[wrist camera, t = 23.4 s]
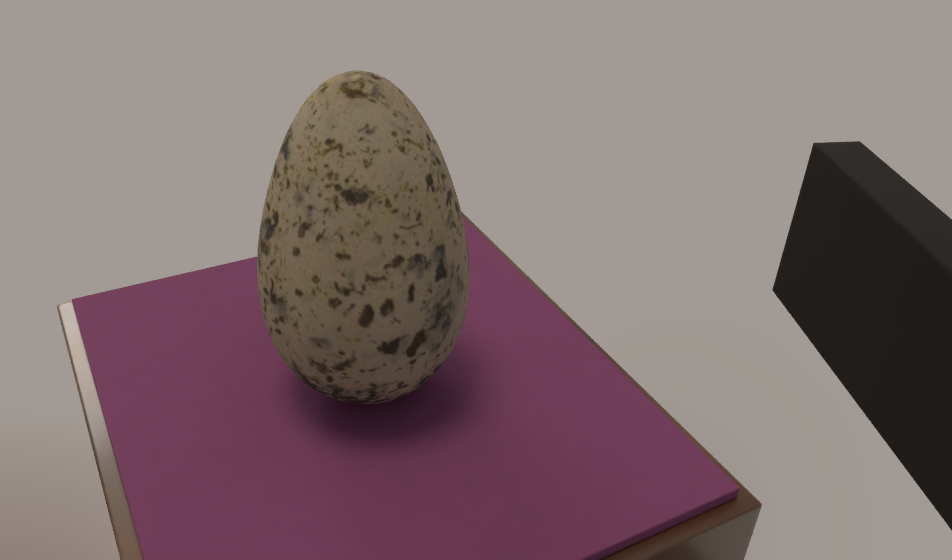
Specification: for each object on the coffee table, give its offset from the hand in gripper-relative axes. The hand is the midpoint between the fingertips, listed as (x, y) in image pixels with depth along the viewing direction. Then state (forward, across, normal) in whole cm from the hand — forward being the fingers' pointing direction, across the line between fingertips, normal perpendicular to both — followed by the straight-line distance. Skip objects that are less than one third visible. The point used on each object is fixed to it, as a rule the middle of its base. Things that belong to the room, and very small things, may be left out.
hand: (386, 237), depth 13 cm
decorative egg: (+10, 0, -11) cm, 15 cm away
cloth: (+10, 0, -12) cm, 15 cm away
